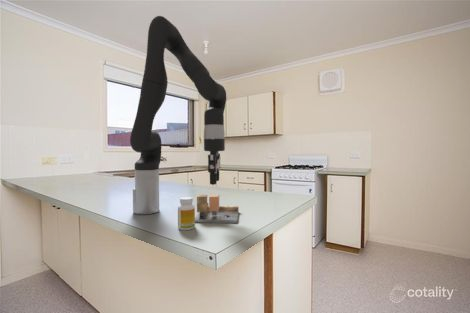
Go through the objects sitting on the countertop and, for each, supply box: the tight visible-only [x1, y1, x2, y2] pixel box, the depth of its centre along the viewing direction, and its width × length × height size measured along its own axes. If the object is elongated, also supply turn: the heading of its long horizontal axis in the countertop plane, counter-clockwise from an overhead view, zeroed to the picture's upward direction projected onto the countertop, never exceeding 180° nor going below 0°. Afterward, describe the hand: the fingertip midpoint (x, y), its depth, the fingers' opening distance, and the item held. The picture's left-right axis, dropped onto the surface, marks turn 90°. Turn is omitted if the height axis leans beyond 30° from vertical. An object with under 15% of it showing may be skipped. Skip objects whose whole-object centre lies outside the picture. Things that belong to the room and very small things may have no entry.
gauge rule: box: [196, 194, 239, 216], centre depth 89 cm, size 15×11×8 cm
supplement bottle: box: [177, 196, 196, 231], centre depth 76 cm, size 5×5×10 cm
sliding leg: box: [208, 194, 220, 215], centre depth 86 cm, size 3×4×7 cm
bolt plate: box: [195, 211, 239, 224], centre depth 87 cm, size 15×11×1 cm
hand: (214, 182), depth 85 cm, fingers open, 8 cm apart
